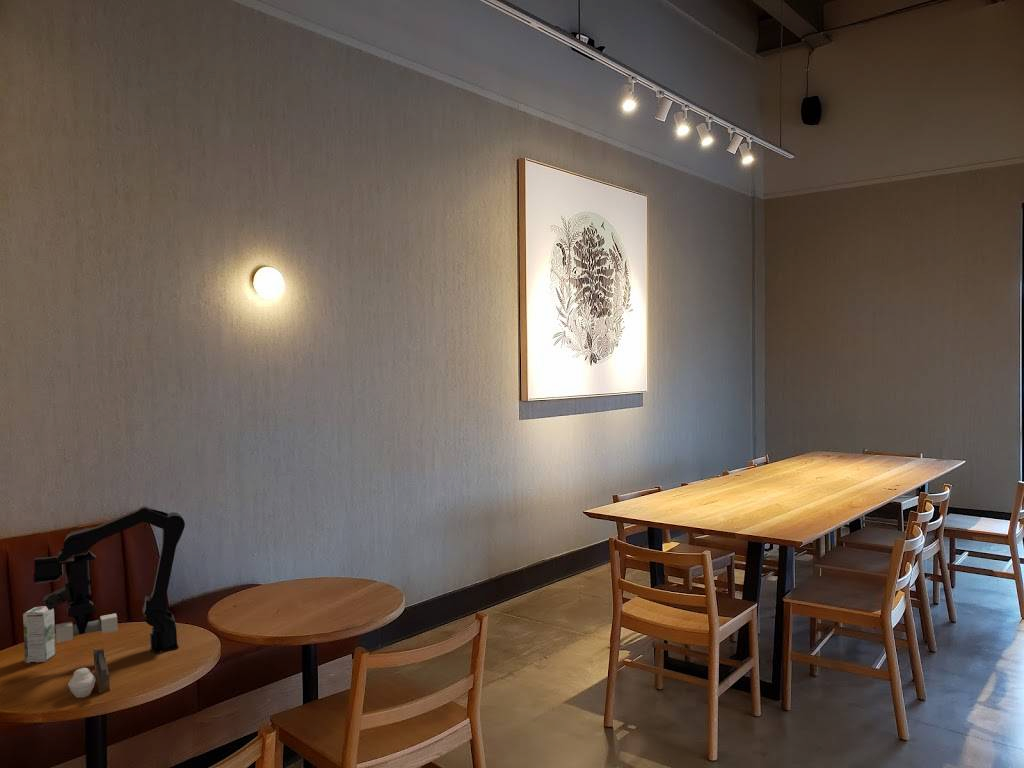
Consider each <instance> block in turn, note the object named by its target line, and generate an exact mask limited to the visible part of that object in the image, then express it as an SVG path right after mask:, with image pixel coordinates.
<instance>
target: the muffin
mask: <svg viewBox="0 0 1024 768" xmlns="http://www.w3.org/2000/svg"><path fill="white" fill-rule="evenodd" d="M96 682H97V678H96V675H95V674H92V672H91V671H90V669H89V668H87V667H81V668H78V669H76V670H75V671H74V672H73V676H72V677H71V679H70V680H69V681H68V683H67V686H68V688H69V690H70V692H71V693H72V694H73V696H75V698H76V699H81V698H86V697H88V696H90V695H91V693H92V691H93V690H94V689H93V688H94V687H95V684H96Z"/></svg>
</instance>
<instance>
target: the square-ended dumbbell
mask: <svg viewBox="0 0 1024 768" xmlns="http://www.w3.org/2000/svg"><path fill="white" fill-rule="evenodd" d="M118 624H119V623H118V616H117V613H116V612H115V613H112V614H111V613H110V614H105V615H100V617H99V619H96V620H93V621H92V620H91V621H88V624H87V627H86V629H85V632H84V634H83V635H86V634H91V633H95V632H100V631H101V635H104V634H108V633H113V632H118V630H119V626H118ZM81 635H82V634H79V631H78V628H77V625H76V623H75V624H73V621H67V622H63V623H57V624H55V643H56V644H58V643H63V642H64V643H65V642H68V641H69V642H70V641H74V637H75V636H81Z"/></svg>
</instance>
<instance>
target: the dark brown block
mask: <svg viewBox="0 0 1024 768" xmlns="http://www.w3.org/2000/svg"><path fill="white" fill-rule="evenodd" d="M100 649H101V648H100ZM100 649H98V650H100ZM96 650H97V649H94V650H93V651H92V652H93V666H94V667H93V668H95V667H96V668H95V677H97V678H96V682H97V683H96V684H97V687H98V691H99V693H100V692H101V693H103V692H104V693H105V692H109V691H111V686H110V685H111V684H110V683H111V682H110V673H109V668H108V664H107V660H106V657H105V656H104V662H105V666H106V674H107V677H104V678H102V675H101V670H100V665H99V660H97V659H96ZM108 690H109V691H108ZM101 693H100V694H101Z"/></svg>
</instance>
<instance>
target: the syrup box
mask: <svg viewBox="0 0 1024 768" xmlns="http://www.w3.org/2000/svg"><path fill="white" fill-rule="evenodd" d="M22 617H23V619H22V620H23V642H24V643H23V645H24V663H25V664H31V663H30V662H36V663H44V662H48V660H50V659H52V658H53V657H54V656H56V648H57V647H56V626H55V625H56V624H55V607H54V608H53V609H51V610H48V608H47V607H46V605H43V606H42V605H41V606H36V607H32V608H31V609H29V610H27V611H26V612H24V613H23V614H22Z"/></svg>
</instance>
